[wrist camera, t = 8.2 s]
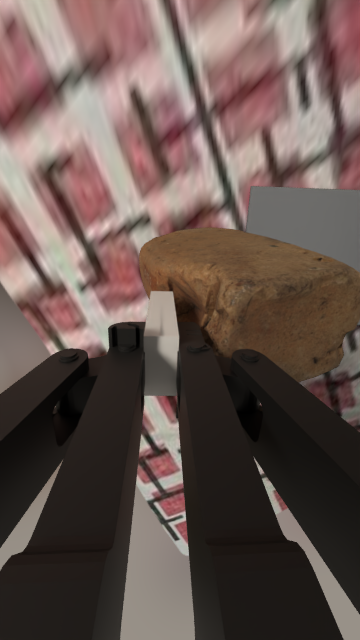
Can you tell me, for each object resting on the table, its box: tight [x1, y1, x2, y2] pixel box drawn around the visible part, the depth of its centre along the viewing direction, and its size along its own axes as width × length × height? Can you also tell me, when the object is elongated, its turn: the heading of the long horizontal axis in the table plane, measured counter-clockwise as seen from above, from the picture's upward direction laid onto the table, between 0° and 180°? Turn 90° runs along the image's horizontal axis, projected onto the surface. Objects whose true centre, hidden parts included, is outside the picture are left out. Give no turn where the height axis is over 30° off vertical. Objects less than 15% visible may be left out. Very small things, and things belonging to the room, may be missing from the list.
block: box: [139, 228, 360, 382], centre depth 22 cm, size 11×8×20 cm
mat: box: [246, 186, 360, 325], centre depth 32 cm, size 22×16×1 cm
